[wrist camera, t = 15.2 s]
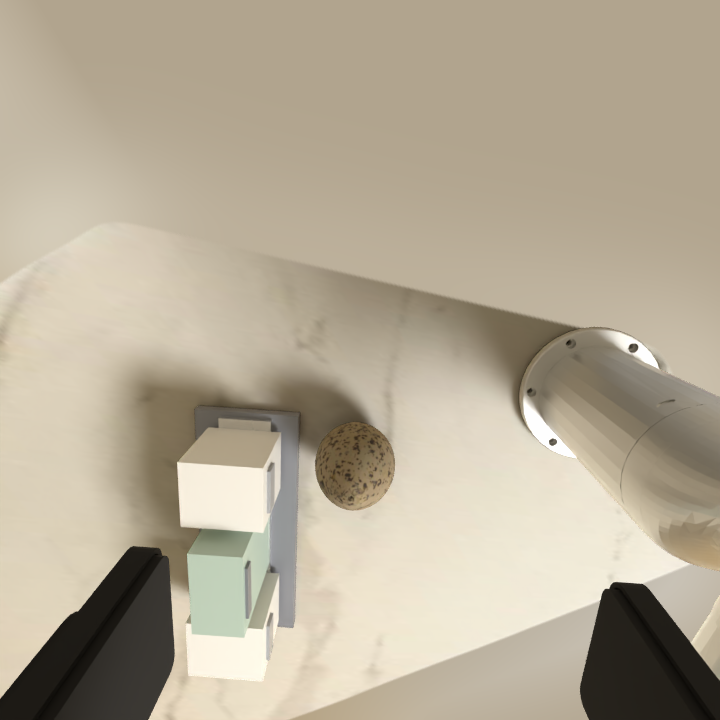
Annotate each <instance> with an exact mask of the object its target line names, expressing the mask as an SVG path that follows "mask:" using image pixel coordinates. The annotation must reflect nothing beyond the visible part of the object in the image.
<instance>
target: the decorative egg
mask: <svg viewBox="0 0 720 720" xmlns="http://www.w3.org/2000/svg"><path fill="white" fill-rule="evenodd" d="M394 470H395V458H394V453H393V450H392V447H391V445H390V443H389V441H388V440H387V438H386V437H385V436H384V435H383V434H382V433H381V432H380V431H379V430H378V429H376V428H374V427H373V426H371V425H368V424H365V423H360V422H350V423H345V424H342V425H340V426H338V427H336V428H335V429H333V430H332V431H330V432H329V433H328V434H327V435H326V437H325V438H324V439H323V441H322V442H321V444H320V446H319V448H318V451H317V455H316V460H315V471H316V477H317V480H318V483H319V486H320V488H321V490H322V491H323V493H324V494H325V496H326V497H327V498H328V499H329V500H330V501H331V502H332V503H334V504H335V505H336V506H338V507H340V508H343V509H346V510H361V509H365V508H367V507H370V506H372V505H373V504H375V503H376V502H378V501H379V500H380V499H381V498H382V497H383V496H384V494H385V493H386V492H387V490H388V489H389V487H390V485H391V482H392V480H393V476H394Z"/></svg>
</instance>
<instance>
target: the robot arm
mask: <svg viewBox="0 0 720 720" xmlns="http://www.w3.org/2000/svg"><path fill="white" fill-rule="evenodd" d="M568 340H569V341H570V342H569V343H568V344H566V342H567V341H568ZM629 345H630V347H629ZM628 347H629V348H628ZM530 388H531V390H530V391H529V392H527V390H528V389H530ZM519 404H520V409H521V414H522V417H523V419H524V421H525V424H526V426H527V427H528V429H529V430H530V431H531V433H532V434H533V435H534V436H535V437H536V439H537V440H538V441H539V442H540V443H541V444H543V445H544V446H545V447H547V448H548V449H550V450H552V451H554V452H556V453H558V454H560V455H564V456H568V457H572V458H577V459H578V460H579V461H580V462H581V464H582V465H583V466H584V467H585V468H586V469H587V470H588V471H589V472H590V474H591V475H592V476H593V477H594V478H595V479H596V480H597V481H598V482H599V483H600V485H601V486H602V487H603V488H604V489H605V490H606V491H607V492H608V493H609V495H610V496H611V497H612V498H613V499H614V500H615V501H616V502H617V503H618V505H619V506H620V507H621V508H622V509H623V510H624V511H625V512H626V513H627V514H628V516H629V517H630V518H631V519H632V520H633V521H634V522H635V523H636V524H637V526H638V527H639V528H640V529H641V530H642V531H643V532H644V533H645V534H646V535H647V536H648V537H649V538H650V539H651V540H652V541H653V542H654V543H655V544H657V545H658V546H659V547H661V548H662V549H663V550H665V551H666V552H668V553H669V554H671V555H673V556H675V557H677V558H679V559H681V560H683V561H685V562H688V563H690V564H693V565H696V566H699V567H703V568H707V569H711V570H715V571H720V397H719V396H716V395H714V394H712V393H710V392H708V391H706V390H703V389H701V388H699V387H697V386H695V385H693V384H691V383H688V382H686V381H684V380H682V379H680V378H678V377H675V376H673V375H671V374H669V373H667V372H665V371H663V370H660V368H659V366H658V363H657V361H656V359H655V358H654V356H653V354H652V353H651V351H650V350H649V349H648V348H647V347H646V346H645V345H644V344H643V343H642V342H640V341H639V340H637V339H636V338H634V337H632V336H631V335H628V334H626V333H623V332H621V331H617V330H614V329H610V328H602V327H589V328H581V329H577V330H574V331H571V332H568V333H565V334H563V335H561V336H559V337H557V338H555V339H554V340H552V341H551V342H550V343H548V344H547V345H546V346H544V347H543V348H542V349H541V350H540V351H539V352H538V353H537V355H536V356H535V357H534V358H533V360H532V361H531V363H530V364H529V366H528V367H527V369H526V371H525V374H524V376H523V379H522V382H521V387H520V392H519ZM551 438H552V439H551ZM549 439H551V440H549ZM174 654H175V652H174V636H173V619H172V603H171V587H170V571H169V559H168V557H167V556H162V553H161V550H160V549H159V548H150V547H136V546H133V547H130V548H129V549H128V550H127V551H126V552H125V554H124V555H123V556H122V557H121V559H120V560H119V561H118V562H117V564H116V565H115V566H114V567H113V569H112V570H111V571H110V572H109V574H108V575H107V576H106V577H105V579H104V580H103V581H102V582H101V584H100V585H99V586H98V588H97V589H96V590H95V591H94V593H93V594H92V595H91V596H90V598H89V599H88V600H87V601H86V603H85V604H84V605H83V606H82V608H81V609H80V610H79V611H78V612H74V613H73V614H71V615H70V616H69V617H68V618H67V619H66V620H65V621H64V622H63V623H62V624H61V625H60V626H59V628H58V629H57V630H56V631H55V633H54V634H53V635H52V636H51V637H50V639H49V640H48V641H47V642H46V644H45V645H44V646H43V647H42V648H41V650H40V651H39V652H38V653H37V655H36V656H35V657H34V658H33V659H32V661H31V662H30V663H29V664H28V666H27V667H26V668H25V669H24V670H23V672H22V673H21V674H20V675H19V677H18V678H17V679H16V680H15V681H14V683H13V684H12V685H11V686H10V688H9V689H8V690H7V691H6V692H5V694H4V695H3V696H2V697H1V699H0V720H148V719H149V717H150V715H151V713H152V711H153V709H154V706H155V704H156V702H157V700H158V698H159V696H160V694H161V692H162V690H163V687H164V685H165V683H166V681H167V679H168V677H169V675H170V672H171V670H172V666H173V662H174ZM580 694H581V700H582V704H583V707H584V709H585V712H586V714H587V716H588V718H589V720H720V595H719V597H718V598H717V600H716V602H715V603H714V605H713V609H712V611H711V612H710V614H709V616H708V617H707V619H706V620H705V622H704V623H703V625H702V626H701V628H700V629H699V631H698V633H697V634H696V636H695V637H694V639H693V640H692V642H691V643H690V641H689V640H688V639H687V638H686V636H685V635H684V634H683V633H682V631H681V630H680V629H679V627H678V626H677V625H676V623H675V622H674V621H673V620H672V618H671V617H670V616H669V614H668V613H667V612H666V610H665V609H664V608H663V607H662V605H661V604H660V603H659V601H658V600H657V599H656V598H655V596H654V595H653V594H652V592H651V591H650V590H649V589H648V588H647V587H646V586H645V585H643V584H635V583H622V582H614V583H612V584H611V586H610V589H605V590H604V591H603V593H602V596H601V601H600V605H599V609H598V614H597V617H596V622H595V626H594V630H593V634H592V638H591V643H590V647H589V651H588V656H587V660H586V664H585V668H584V672H583V676H582V681H581V686H580Z"/></svg>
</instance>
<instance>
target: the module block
mask: <svg viewBox="0 0 720 720" xmlns="http://www.w3.org/2000/svg"><path fill="white" fill-rule="evenodd" d="M187 563H188V580H189V596H190V613H191V629H192V634H196V635H211V636H225V637H239V638H244V637H245V634H246V631H247V628H248V625H249V622H250V619H251V616H252V613H253V610H254V607H255V604H256V601H257V598H258V595H259V592H260V589H261V586H262V583H263V580H264V577H265V574H266V571H267V568H268V565H269V519H268V522H267V524H266V527H265V530H264V532H263V533H258V532H244V531H231V530H217V529H203V528H202V530H201V531H200V533H199V535H198V536H197V538H196V540H195V541H194V543H193V545H192V546H191V548H190V550H189V551H188V553H187Z"/></svg>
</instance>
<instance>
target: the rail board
mask: <svg viewBox="0 0 720 720" xmlns="http://www.w3.org/2000/svg"><path fill="white" fill-rule="evenodd" d="M299 429H300V412H286V411H271V410H256V409H241V408H227V407H212V406H198V407H197V408H195V432H196V442H195V443H194V444H193V445H192V446H191V447H190V448H189V450H188V451H187V452H186V453H185V454H184V455H183V456H182V457H181V459H180V460H179V461H178V462H177V469H178V488H179V507H180V526H181V527H190V528H199V531H201V530H202V528H203V529H217V530H231V531H244V532H258V533H263V532H264V530H265V527H266V524H267V522H268V519H269V565H268V568H267V571H266V574H265V577H264V580H263V583H262V586H261V589H260V592H259V595H258V598H257V601H256V604H255V607H254V610H253V613H252V616H251V619H250V622H249V625H248V628H247V631H246V634H245V637H244V638H239V637H225V636H211V635H196V634H192V629H191V614H190V616H189V618H188V620H187V622H186V639H187V658H188V675H189V676H201V677H214V678H226V679H239V680H251V681H263V679H264V675H265V671H266V667H267V664H268V661H269V660H270V656H271V652H272V648H273V640H274V636H275V633H276V629H277V627H287V628H293V627H294V622H295V592H296V551H297V511H298V470H299Z"/></svg>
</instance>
